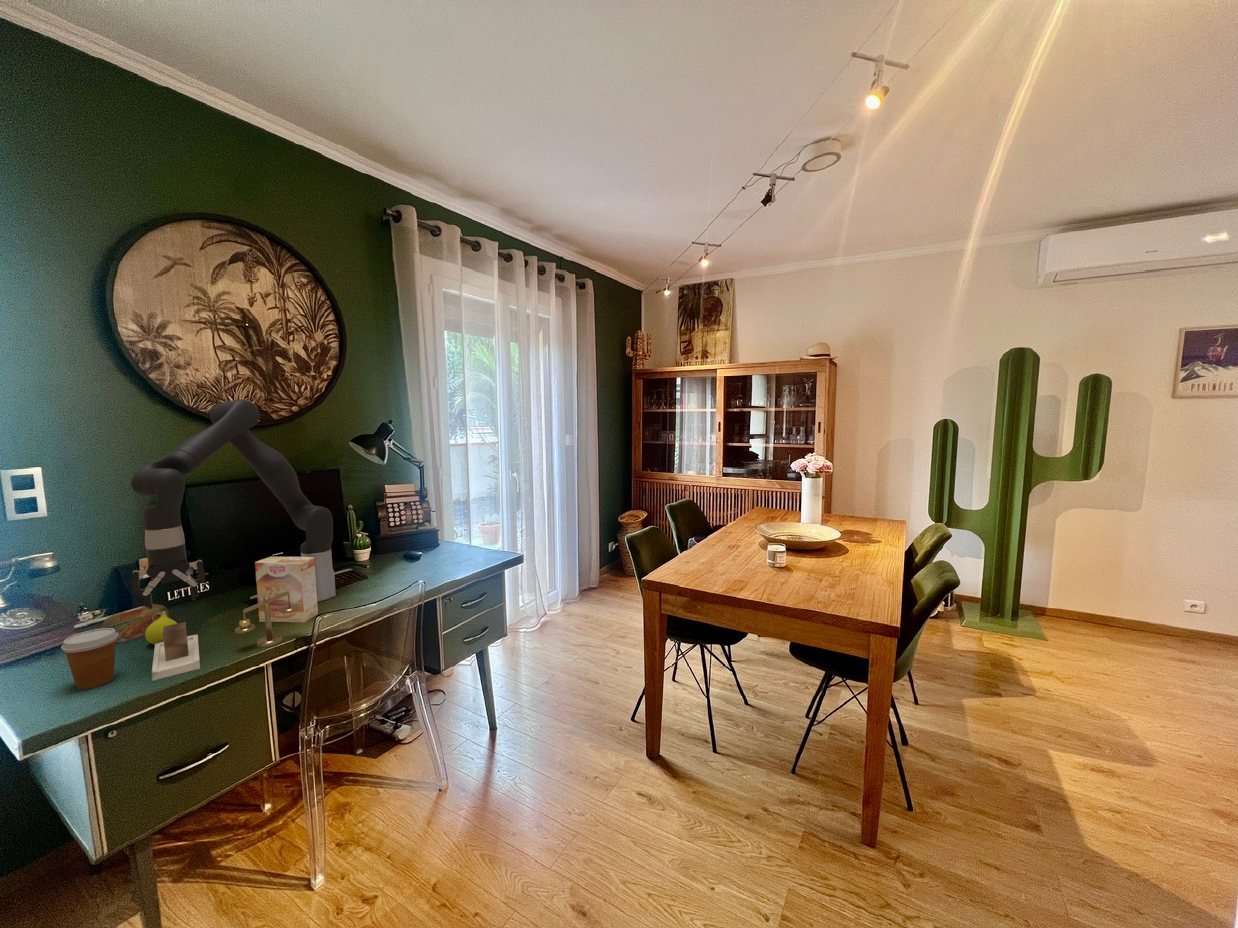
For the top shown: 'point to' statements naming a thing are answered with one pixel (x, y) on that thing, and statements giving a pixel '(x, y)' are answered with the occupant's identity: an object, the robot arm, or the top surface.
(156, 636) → the ornament
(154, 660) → the dish
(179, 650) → the block
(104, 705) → the top surface
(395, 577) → the top surface
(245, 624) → the balance
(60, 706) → the top surface
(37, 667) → the top surface
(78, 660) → the disposable coffee cup
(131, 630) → the tin
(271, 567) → the coffeecake box
